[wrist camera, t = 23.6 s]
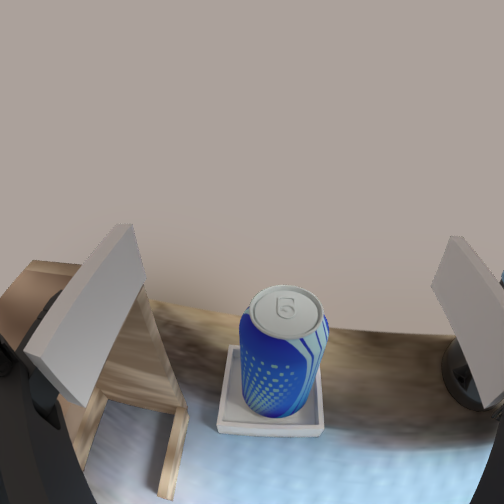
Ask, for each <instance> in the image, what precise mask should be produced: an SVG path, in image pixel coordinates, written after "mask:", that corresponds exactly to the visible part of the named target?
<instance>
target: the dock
mask: <svg viewBox="0 0 504 504" xmlns="http://www.w3.org/2000/svg"><path fill="white" fill-rule="evenodd" d="M81 266H82V265H79V264H69V263H59V262H48V261H39V260H38V261H37V260H33V261H32V262H31V263H30V264H29V265H28V266H27V267H26V268H25V269H24V270H23V272H22V273H21V274H20V275H19V276H18V277H17V278H16V280H15V281H14V282H13V283H12V284H11V285H10V287H9V288H8V289H7V290H6V291H5V293H4V294H3V295H2V296H1V298H0V334H1V335H2V336H3V337H4V338H5V340H6V341H7V342H8V344H9V345H10V346H11V348H12V349H13V350H14V352H15V351H16V349H17V348H18V346H19V344H20V343H21V341H22V339H23V338H24V336H25V335H26V333H27V332H28V330H29V328H30V327H31V325H32V324H33V322H34V321H35V320H37V316H38V315H39V314H40V312H41V311H43V308H44V306H45V305H46V303H47V302H48V301H49V299H50V298H51V297H52V296H54V295H55V294H56V293H57V292H58V291H60V290H64V288H65V287H66V285H67V284H68V283H69V281H70V280H71V279H72V277H73V276H74V275H75V274H76V272H77V271H78V270H79V268H80V267H81ZM95 386H96V387H95ZM95 386H94V389H93V391H92V393H91V396H90V398H89V401H88V403H87V406H86V408H84V407H81V406H78V405H76V404H73V403H70V402H68V401H67V400H66V399H65V398H64V397H63V396H62V395H61V394H60V393H59V395H58V397H57V399H58V400H59V403H60V405H61V408H62V412H63V415H64V419H65V423H66V426H67V429H68V433H69V436H70V439H71V442H72V445H73V448H74V451H75V454H76V456H77V459H78V462H79V464H80V467H81V469H82V471H84V468H85V464H86V461H87V458H88V455H89V452H90V449H91V445H92V442H93V439H94V437H95V434H96V431H97V428H98V425H99V422H100V419H101V417H102V414H103V411H104V408H105V406H106V403H107V400H108V399H109V400H113V401H116V402H120V403H124V404H128V405H132V406H136V407H140V408H144V409H149V410H153V411H158V412H163V413H168V414H173V415H175V417H174V421H173V426H172V430H171V434H170V438H169V443H168V447H167V451H166V456H165V460H164V465H163V469H162V474H161V479H160V483H159V488H158V493H157V496H158V497H161V498H163V499H167V500H171V501H173V497H174V492H175V487H176V481H177V476H178V471H179V466H180V461H181V456H182V451H183V446H184V441H185V436H186V431H187V427H188V422H189V415H188V413H187V409H188V406H187V404H186V401H185V399H184V397H183V394H182V392H181V390H180V387H179V385H178V382H177V380H176V377H175V375H174V372H173V370H172V367H171V365H170V362H169V359H168V357H167V354H166V351H165V348H164V346H163V343H162V340H161V337H160V334H159V331H158V328H157V325H156V322H155V319H154V316H153V313H152V310H151V307H150V304H149V300H148V297H147V294H146V290H145V287H144V284H143V285H142V287H141V289H140V291H139V293H138V295H137V297H136V299H135V300H134V302H133V304H132V306H131V308H130V310H129V312H128V314H127V316H126V318H125V320H124V322H123V324H122V327H121V329H120V331H119V333H118V335H117V337H116V339H115V341H114V343H113V345H112V348H111V350H110V352H109V354H108V356H107V359H106V361H105V363H104V365H103V368H102V370H101V372H100V374H99V377H98V379H97V381H96V384H95Z"/></svg>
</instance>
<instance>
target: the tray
mask: <svg viewBox="0 0 504 504" xmlns="http://www.w3.org/2000/svg"><path fill="white" fill-rule="evenodd" d="M217 429H218V432H219V433H222V434H232V435H243V436H259V437H319V436H320V435H321V433H322V432H323V430H324V415H323V400H322V387H321V375H320V365H319V368H318V371H317V374H316V377H315V380H314V382H313V385H312V388H311V391H310V393H309V396H308V399H307V401H306V403H305V404H304V406H303V407H302V408H301V409H300V410H299V411H298V412H296V413H295V414H293V415H290V416H288V417H284V418H268V417H264V416H261V415H259V414H257V413H255V412H254V411H253V410H252V409H250V408H249V406H248V405H247V404H246V402H245V400H244V398H243V395H242V380H241V359H240V345H229V349H228V356H227V362H226V368H225V374H224V380H223V387H222V393H221V399H220V406H219V412H218V418H217Z"/></svg>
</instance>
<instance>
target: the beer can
mask: <svg viewBox="0 0 504 504" xmlns="http://www.w3.org/2000/svg"><path fill="white" fill-rule="evenodd" d="M239 336H240V359H241V380H242V395H243V398H244V400H245V402H246V404H247V405H248V406H249V408H250V409H252V410H253V411H254V412H255V413H257V414H259V415H261V416H264V417H268V418H284V417H288V416H290V415H293V414H295V413H296V412H298V411H299V410H300V409H301V408H302V407H303V406H304V404H305V403H306V401H307V399H308V396H309V393H310V391H311V388H312V385H313V382H314V380H315V377H316V374H317V371H318V368H319V365H320V362H321V359H322V356H323V353H324V350H325V347H326V344H327V340H328V336H329V326H328V322H327V319H326V317H325V315H324V311H323V307H322V304H321V302H320V301H319V299H318V298H317V297H316V296H315V295H314V294H312V293H311V292H309V291H307V290H305V289H303V288H300V287H297V286H292V285H277V286H272V287H268V288H266V289H264V290H262V291H260V292H259V293H257V294H256V295H255V296H254V298H253V299H252V301H251V303H250V306H249V307H248V308H247V309H246V310H245V312H244V313H243V315H242V317H241V320H240V325H239Z"/></svg>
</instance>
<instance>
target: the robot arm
mask: <svg viewBox="0 0 504 504" xmlns="http://www.w3.org/2000/svg"><path fill="white" fill-rule="evenodd" d="M501 277H502V279H501V281H500V282H498V281H497V279H496V278H495V276H494V275H493V274H492V272H491V271H490V270H489V268H488V267H487V266H486V265H485V263H484V262H483V261H482V259H481V258H480V257H479V256H478V254H477V253H476V252H475V251H474V249H473V248H472V247H471V246H470V245H469V244H468V242H467V241H466V240H465V239H464V238H463V237H460V236H450V239H449V241H448V244H447V247H446V249H445V252H444V255H443V257H442V260H441V262H440V265H439V267H438V270H437V273H436V275H435V277H434V280H433V282H432V284H431V288H432V289H433V291H434V293H435V295H436V297H437V299H438V301H439V302H440V305H441V306H442V308H443V310H444V312H445V314H446V316H447V318H448V320H449V322H450V325H451V327H452V329H453V331H454V333H455V335H456V338H455V339H454V340H453V341H452V343H451V344H450V346H449V347H448V349H447V350H446V351H445V353H444V356H443V359H442V374H443V379H444V382H445V384H446V386H447V388H448V390H449V392H450V393H451V395H452V396H453V397H454V398H455V399H456V400H457V401H458V402H459V403H460V404H461V405H463V406H464V407H466V408H468V409H471V410H474V411H487V410H490V409H492V408H494V407H495V406H496V405H497V404H498V403H499V402H501V401H502V400H503V399H504V271H503V273H502V276H501ZM145 280H146V274H145V271H144V267H143V264H142V260H141V256H140V253H139V249H138V245H137V241H136V237H135V233H134V228H133V224H116V225H115V226H114V227H113V229H112V230H111V231H110V232H109V233H108V234H107V236H106V237H105V238H104V239H103V240H102V241H101V243H100V244H99V245H98V246H97V247H96V249H95V250H94V251H93V252H92V253H91V255H90V256H89V257H88V259H87V260H86V261H85V262H84V263H83V265H82V266H81V267H80V268H79V270H78V271H77V272H76V274H75V275H74V276H73V277H72V279H71V280H70V281H69V283H68V284H67V285H66V287H65V288H64V290H60V291H58V292H57V293H56V294H55V295H54V296H52V297H51V298H50V299H49V301H48V302H47V303H46V305H45V306H44V308H43V311H41V312H40V314H39V315H38V316H37V320H35V321H34V322H33V324H32V325H31V327H30V328H29V330H28V332H27V333H26V335H25V336H24V338H23V339H22V341H21V343H20V344H19V346H18V348H17V349H16V351H15V352H14V350H13V349H12V348H11V346H10V345H9V344H8V342H7V341H6V340H5V338H4V337H3V336H2V335H1V334H0V504H97V503H96V501H95V499H94V497H93V495H92V493H91V490H90V488H89V486H88V484H87V481H86V479H85V477H84V474H83V472H82V469H81V467H80V464H79V462H78V459H77V456H76V454H75V451H74V448H73V445H72V442H71V439H70V436H69V433H68V429H67V426H66V423H65V419H64V415H63V412H62V408H61V405H60V403H59V400H58V399H57V397H58V395H59V393H60V394H61V395H62V396H63V397H64V398H65V399H66V400H67V401H68V402H70V403H73V404H76V405H78V406H81V407H84V408H86V406H87V403H88V401H89V398H90V396H91V393H92V391H93V389H94V386H95V384H96V381H97V379H98V377H99V374H100V372H101V370H102V368H103V365H104V363H105V361H106V359H107V356H108V354H109V352H110V350H111V348H112V345H113V343H114V341H115V339H116V337H117V335H118V333H119V331H120V329H121V327H122V324H123V322H124V320H125V318H126V316H127V314H128V312H129V310H130V308H131V306H132V304H133V302H134V300H135V299H136V297H137V295H138V293H139V291H140V289H141V287H142V285H143V283H144V281H145ZM500 412H502V414H501V415H499V416H498V417H497V419H496V420H498V421H500V423H499V427H498V430H497V434H496V437H495V441H494V444H493V447H492V450H491V453H490V456H489V459H488V462H487V464H486V467H485V470H484V472H483V475H482V477H481V479H480V482H479V484H478V487H477V489H476V491H475V493H474V495H473V497H472V500H471V502H470V504H504V404H503V405H502V406H501V407H500V408H499V409H497V410H496V411H495V412H494V413H493V415H492V418H494V417H496V416H497V415H498V414H499V413H500Z"/></svg>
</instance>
